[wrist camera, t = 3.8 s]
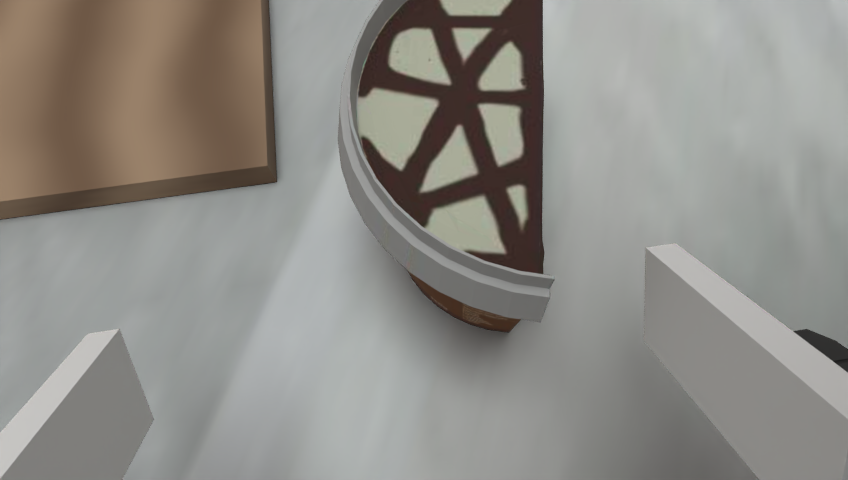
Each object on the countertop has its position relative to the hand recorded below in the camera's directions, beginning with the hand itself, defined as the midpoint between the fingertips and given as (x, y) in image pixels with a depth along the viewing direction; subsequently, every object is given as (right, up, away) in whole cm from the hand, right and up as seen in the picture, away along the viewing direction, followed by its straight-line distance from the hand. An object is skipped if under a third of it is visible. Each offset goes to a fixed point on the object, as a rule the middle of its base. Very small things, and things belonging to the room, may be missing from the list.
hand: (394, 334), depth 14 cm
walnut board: (-15, +11, +14) cm, 23 cm away
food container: (+1, +3, +11) cm, 11 cm away
